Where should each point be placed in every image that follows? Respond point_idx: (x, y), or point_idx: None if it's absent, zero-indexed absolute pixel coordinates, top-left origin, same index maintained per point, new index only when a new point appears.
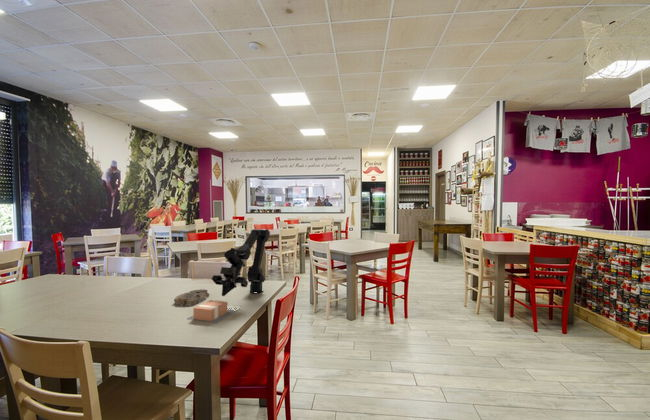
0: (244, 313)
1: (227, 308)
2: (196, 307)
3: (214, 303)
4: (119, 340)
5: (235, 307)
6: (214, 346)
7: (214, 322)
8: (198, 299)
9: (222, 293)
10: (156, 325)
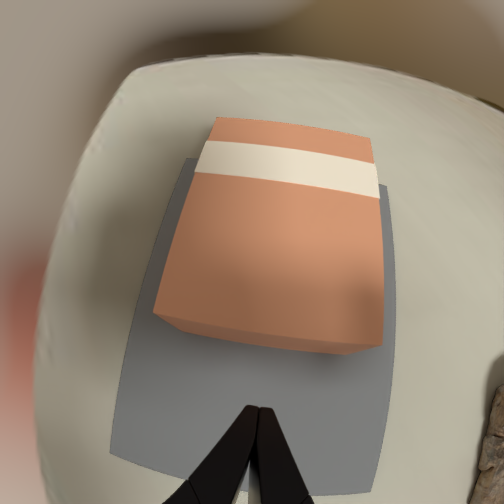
0: (70, 329)
1: (222, 418)
2: (357, 144)
3: (274, 242)
4: (412, 79)
5: (163, 442)
6: (142, 69)
7: (197, 161)
8: (501, 450)
9: (266, 423)
10: (434, 142)
